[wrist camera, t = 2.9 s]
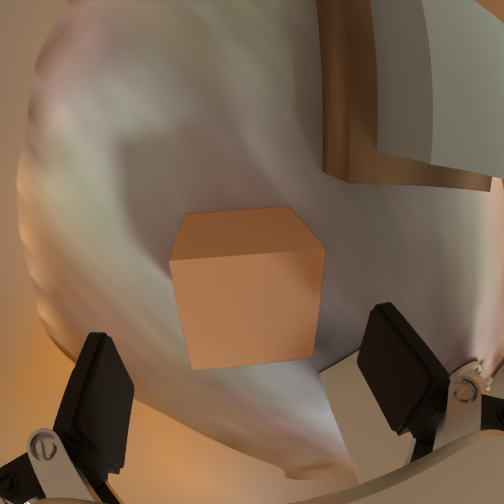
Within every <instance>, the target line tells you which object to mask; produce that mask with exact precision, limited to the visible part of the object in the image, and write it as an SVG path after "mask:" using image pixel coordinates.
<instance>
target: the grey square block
mask: <svg viewBox="0 0 504 504" xmlns="http://www.w3.org/2000/svg"><path fill="white" fill-rule="evenodd" d="M370 5H371V12H372V20H373V28H374V38H375V49H376V64H377V87H378V130H377V151H379V152H384V153H388V154H393V155H397V156H401V157H405V158H409V159H413V160H416V161H420V162H424V163H427V164H431V165H437V166H443V167H449V168H455V169H460V170H465V171H470V172H475V173H480V174H484V175H489V176H493V177H497V178H501V179H504V24H503V23H502V22H501V21H499V20H498V19H497V18H496V17H495V16H493V15H492V14H491V13H490V12H488V11H487V10H486V9H484V8H483V7H482V6H481V5H479V4H478V3H477V2H475V1H474V0H370Z"/></svg>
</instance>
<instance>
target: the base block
mask: <svg viewBox="0 0 504 504" xmlns="http://www.w3.org/2000/svg"><path fill="white" fill-rule="evenodd" d="M316 3H317V12H318V23H319V35H320V48H321V65H322V88H323V172H325V173H327V174H330V175H332V176H334V177H336V178H339V179H341V180H343V181H345V182H347V183H374V184H401V185H419V186H434V187H447V188H458V189H468V190H477V191H486V192H490V188H491V180H492V176H489V175H484V174H480V173H475V172H470V171H465V170H460V169H455V168H449V167H443V166H437V165H431V164H427V163H424V162H420V161H416V160H413V159H409V158H405V157H401V156H397V155H393V154H388V153H384V152H379V151H377V130H378V87H377V64H376V49H375V38H374V28H373V20H372V12H371V5H370V0H316Z"/></svg>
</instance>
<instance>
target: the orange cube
mask: <svg viewBox="0 0 504 504" xmlns="http://www.w3.org/2000/svg"><path fill="white" fill-rule="evenodd" d="M325 249H326V248H325V247H324V246H323V245H322V244H321V243H320V241H319V240H318V239H317V238H316V237H315V235H314V234H313V233H312V232H311V231H310V230H309V229H308V227H307V226H306V225H305V224H304V223H303V222H302V220H301V219H300V218H299V217H298V216H297V215H296V214H295V213H294V211H293V210H292V209H291V208H290V207H277V208H259V209H243V210H228V211H215V212H202V213H191V214H185V215H184V218H183V221H182V223H181V226H180V229H179V232H178V235H177V238H176V240H175V243H174V246H173V249H172V252H171V255H170V258H169V265H170V271H171V276H172V282H173V287H174V292H175V297H176V302H177V306H178V311H179V316H180V320H181V325H182V329H183V333H184V337H185V342H186V346H187V350H188V354H189V358H190V361H191V365H192V369H211V368H225V367H238V366H248V365H258V364H266V363H275V362H282V361H289V360H296V359H303V358H309V357H312V355H313V349H314V343H315V336H316V329H317V322H318V314H319V306H320V298H321V289H322V280H323V271H324V260H325Z"/></svg>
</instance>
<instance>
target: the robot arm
mask: <svg viewBox="0 0 504 504" xmlns="http://www.w3.org/2000/svg"><path fill="white" fill-rule="evenodd" d="M357 365H358V367H359V369H360V371H361V373H362V375H363V377H364V379H365V380H366V382H367V384H368V386H369V388H370V390H371V392H372V394H373V395H374V397H375V399H376V401H377V403H378V405H379V407H380V409H381V411H382V413H383V414H384V416H385V418H386V420H387V422H388V424H389V426H390V428H391V430H392V431H396V433H397V435H398V436H401V435H403V434H405V433H408V432H411V434H412V436H413V437H412V441H411V444H410V448H409V452H408V455H407V458H406V461H405V465H404V466H403V467H401V468H399V469H396V470H394V471H392V472H390V473H387V474H385V475H383V476H380V477H378V478H375V479H372V480H370V481H367V482H365V483H362V484H359V485H356V486H353V487H350V488H347V489H344V490H341V491H338V492H334V493H331V494H327V495H323V496H320V497H316V498H312V499H307V500H303V501H298V502H294V503H289V504H504V399H501V398H497V397H493V396H491V395H490V393H489V392H488V391H489V390H490V383H491V382H492V381H493V380H492V377H491V376H488V377H487V378H485V379H483V378H482V377H481V376H480V373H481V365H480V364H479V363H478V362H477V361H474V362H470V363H468V364H466V365H464V366H462V367H461V368H459V369H458V370H456V371H455V372H454V373H452V374H451V375H449V373H448V372H447V371H446V369H445V368H444V367H443V365H442V364H441V363H440V361H439V360H438V359H437V358H436V356H435V355H434V354H433V352H432V351H431V350H430V349H429V347H428V346H427V345H426V344H425V342H424V341H423V340H422V339H421V337H420V336H419V335H418V334H417V333H416V331H415V330H414V329H413V328H412V326H411V325H410V324H409V323H408V322H407V320H406V319H405V318H404V317H403V316H402V315H401V313H400V312H399V311H398V310H397V309H396V308H395V306H394V305H393V304H392V303H390V302H387V303H382V304H377V305H375V307H374V309H372V310H371V312H370V316H369V320H368V323H367V327H366V330H365V334H364V337H363V341H362V344H361V347H360V350H359V354H358V357H357ZM133 396H134V385H133V382H132V380H131V378H130V377H129V375H128V373H127V370H126V368H125V366H124V364H123V362H122V360H121V358H120V356H119V354H118V351H117V349H116V347H115V345H114V342H113V340H112V338H111V337H109V336H107V334H106V333H104V332H91V333H89V334H88V336H87V339H86V341H85V343H84V346H83V348H82V350H81V353H80V355H79V358H78V360H77V363H76V365H75V368H74V369H73V371H72V373H71V376H70V379H69V381H68V384H67V387H66V390H65V392H64V395H63V398H62V401H61V404H60V407H59V410H58V413H57V416H56V420H55V423H54V426H53V430H50V429H47V428H41V429H38V430H36V431H35V432H33V433H32V434H31V436H30V437H29V439H28V441H27V452H26V453H25V454H23V455H21V456H20V457H18V458H16V459H14V460H13V461H11V462H9V463H8V464H6V465H4V466H2V467H1V468H0V504H124V503H123V501H122V500H121V499H120V497H119V496H118V495H117V493H116V492H115V491H114V489H113V488H112V487H111V485H110V484H109V482H108V481H107V479H108V473H113V474H119V471H120V468H123V466H124V461H125V451H126V443H127V435H128V427H129V421H130V414H131V408H132V402H133Z"/></svg>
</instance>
